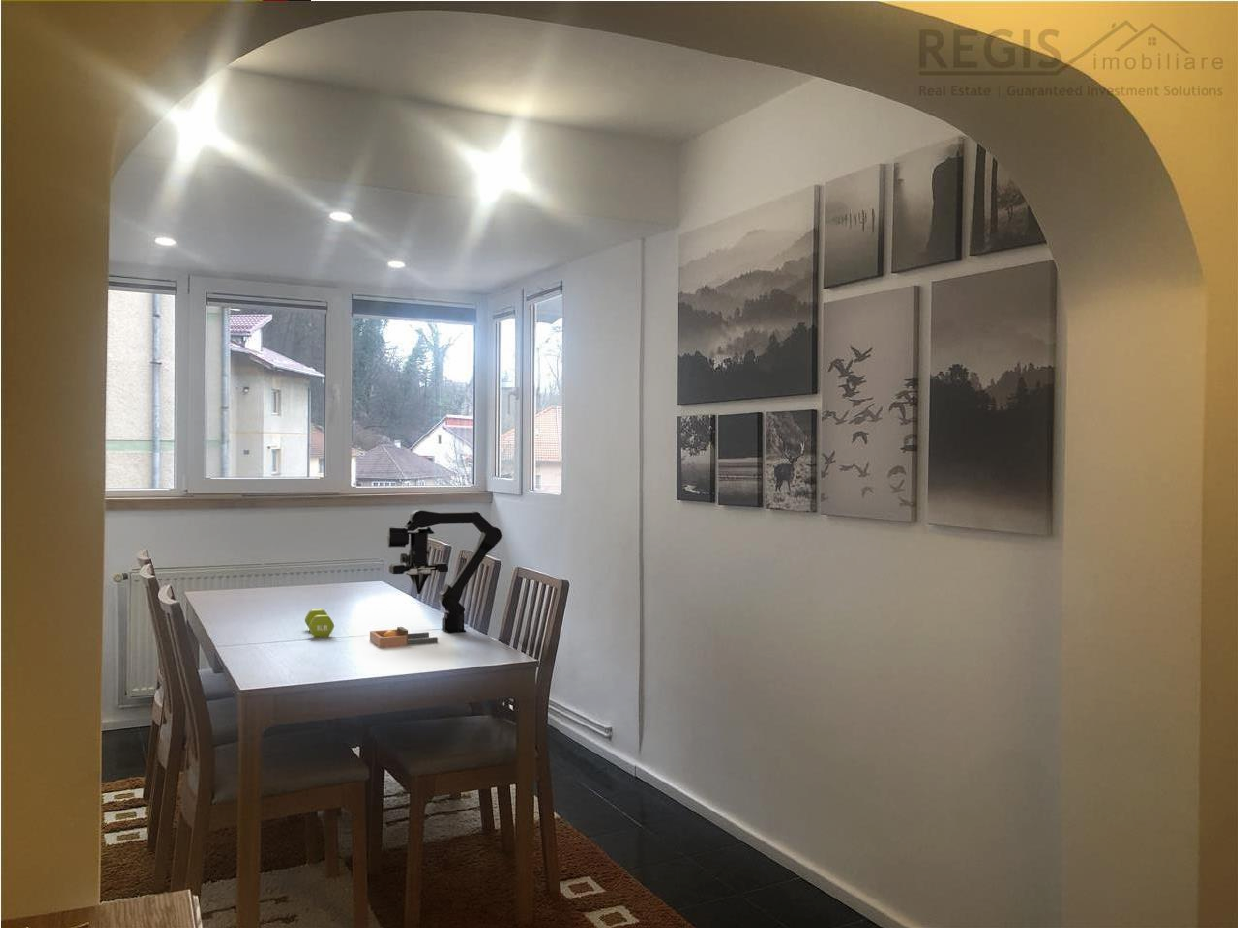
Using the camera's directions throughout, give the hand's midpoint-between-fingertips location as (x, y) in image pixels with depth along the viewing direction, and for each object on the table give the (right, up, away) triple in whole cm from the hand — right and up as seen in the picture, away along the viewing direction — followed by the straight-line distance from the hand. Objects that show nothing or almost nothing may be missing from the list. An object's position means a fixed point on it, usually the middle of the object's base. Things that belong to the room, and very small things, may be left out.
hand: (418, 593), depth 315 cm
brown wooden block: (-2, -13, -16) cm, 20 cm away
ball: (-5, -11, -18) cm, 21 cm away
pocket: (-5, -13, -18) cm, 23 cm away
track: (+3, -13, -13) cm, 19 cm away
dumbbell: (-32, -13, -4) cm, 35 cm away
